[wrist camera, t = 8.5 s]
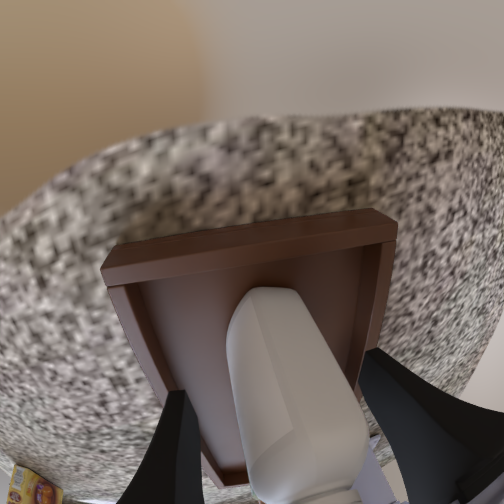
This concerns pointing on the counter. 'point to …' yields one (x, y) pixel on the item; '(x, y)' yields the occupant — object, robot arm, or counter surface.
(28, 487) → the candy box
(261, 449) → the eye dropper bottle
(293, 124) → the counter surface
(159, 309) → the tray
